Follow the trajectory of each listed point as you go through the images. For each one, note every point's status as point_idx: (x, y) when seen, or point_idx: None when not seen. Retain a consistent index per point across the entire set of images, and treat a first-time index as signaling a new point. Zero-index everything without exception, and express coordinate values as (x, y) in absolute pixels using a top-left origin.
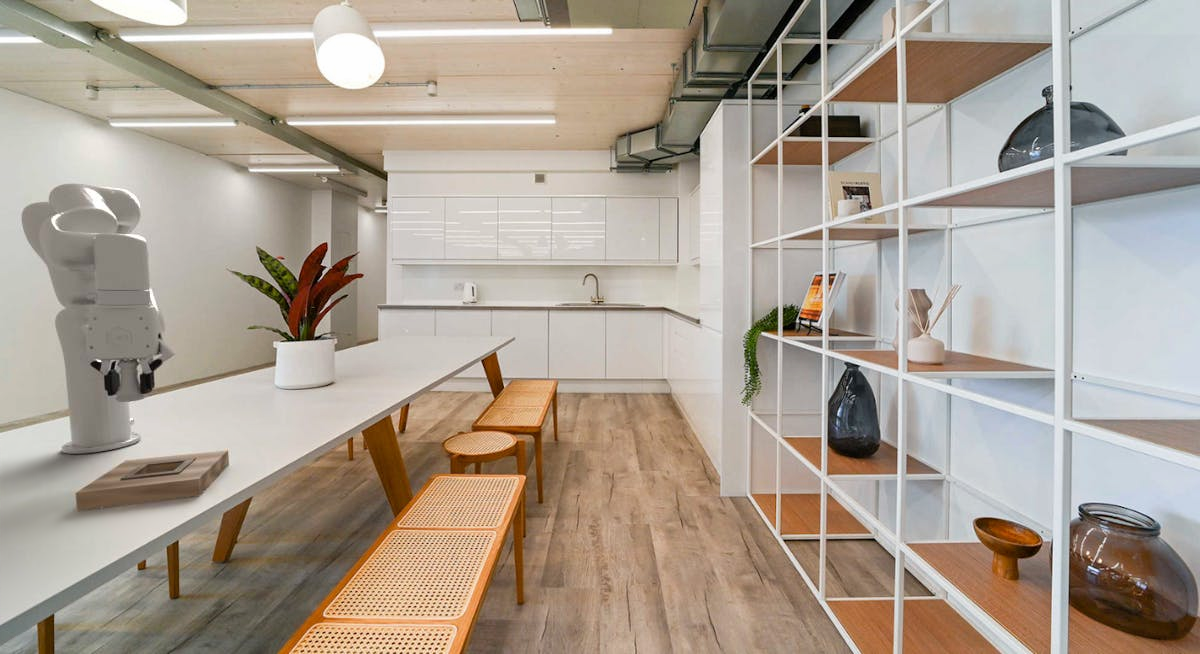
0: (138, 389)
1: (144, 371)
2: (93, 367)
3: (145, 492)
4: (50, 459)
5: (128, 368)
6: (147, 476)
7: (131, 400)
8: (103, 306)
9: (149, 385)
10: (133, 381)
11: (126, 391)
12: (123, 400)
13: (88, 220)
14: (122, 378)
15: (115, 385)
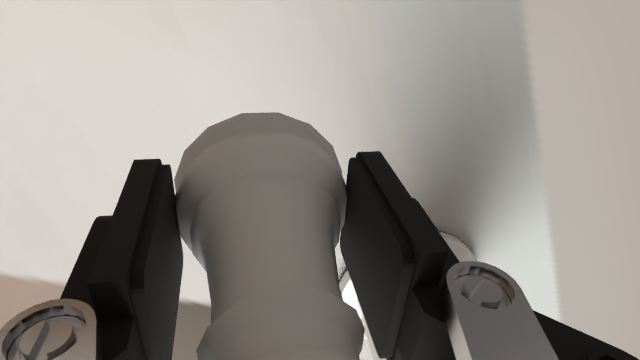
0: (194, 200)
1: (85, 327)
2: (601, 341)
3: None
4: (480, 210)
5: (265, 351)
6: None
7: (228, 123)
8: None
9: (102, 225)
10: (223, 241)
11: (260, 157)
12: (272, 113)
13: None
14: (314, 257)
15: (362, 234)
